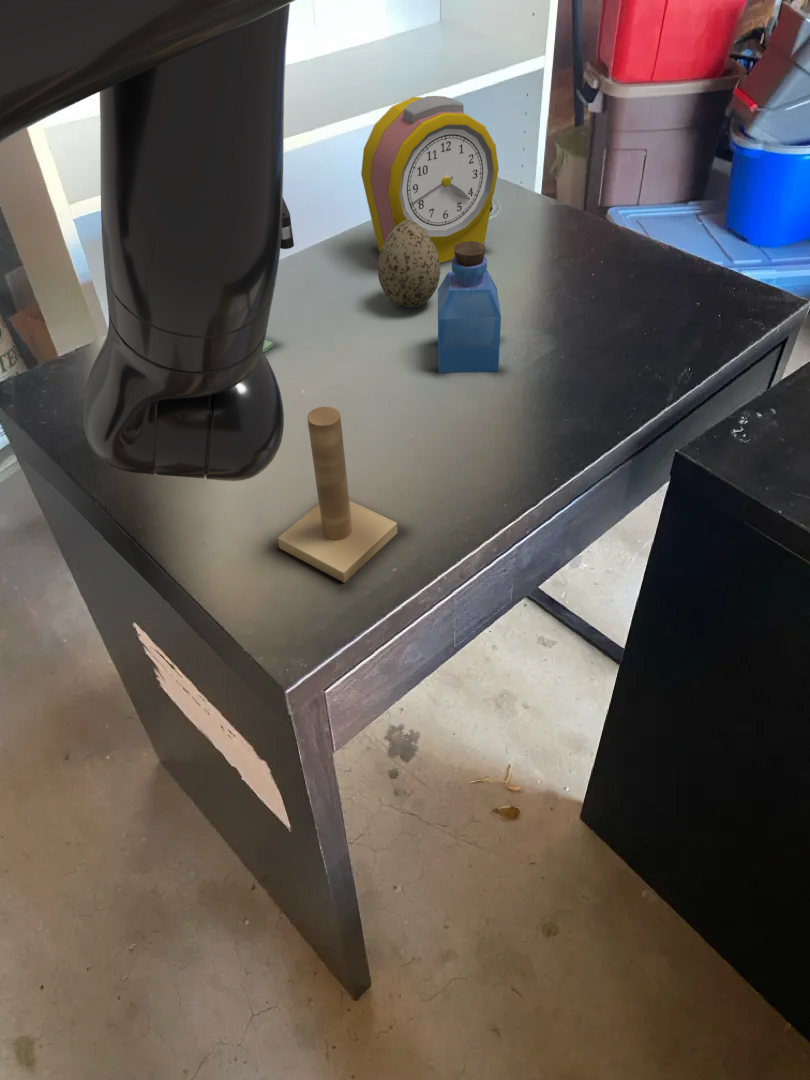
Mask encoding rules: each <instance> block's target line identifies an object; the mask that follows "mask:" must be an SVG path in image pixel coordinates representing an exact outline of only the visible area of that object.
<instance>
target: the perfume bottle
mask: <svg viewBox="0 0 810 1080" xmlns="http://www.w3.org/2000/svg"><path fill="white" fill-rule="evenodd" d="M486 249H487V246H486V245H485V243H484V244H482V243H479V242H474V241H466V242H461V243H458V244H456V245H455V246H454V253H455V256H454V257H453V259H452V260H451V271H448V272H447V273H446V275H445V277H444V278H443V280H442V282H441V283H440V285H439V287H437V288H438V289H437V351H438V352H437V353H438V357H437V358H438V373H439V374H443V373H485V372H486V373H487V372H489V373H491V372H493V373H495V372H499V367H500V366H499V364H500V347H501V346H500V345H501V326H502V314H501V306H500V300H499V294H498V288H497V286H496V283H495V282H494V280H493V278H492V276H491V274H490V272H489V271H488V269H487V268H488V259H487V257H486V256H485V254H486Z"/></svg>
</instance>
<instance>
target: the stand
mask: <svg viewBox="0 0 810 1080" xmlns="http://www.w3.org/2000/svg"><path fill="white" fill-rule="evenodd" d="M341 417H342V416H341V412H340V411H339V410H338V409H337V408H336V407H332V406H319V407H315V408H313V409H311V410H310V411H309V412H308V414H307V417H306V419H307V427H308V435H309V440H310V449H311V455H312V462H313V470H314V477H315V483H316V485H315V486H316V492H317V498H318V503H317V505H315V506H314V507H313V508H311V509H310V510H309V511H308V512H306V514H304V515H303V516H302V517H301V518H299V519H298V520H297V521H296V522H294V524H292V525H291V526H290V527H288V529H286V530H285V531H284V532H283V533H281V534H280V535H279V536H277V542H278V548H279V549H280V550H282V551H283V552H285V553H288V554H290V555H292V556H293V557H294V558H297V559H298V560H301V561H302V562H305V564H308V565H310V566H311V567H314V568H315V569H318V570H319V571H321V572H323V573H324V574H327V575H328V576H330V577H332V578H334V579H336V580H337V581H341V582H342V583H344V584H346V582H348V581H349V580H350V579H351V577H353V576H354V575H355V574H356V573H357V572H358V571H360V569H361V568H362V567H363V566H364V565H366V563H368V562H369V561H370V560H371V559H372V558H373V557H374V556H375V555H376V554H377V553H378V552H379V551H380V550H382V549H383V547H385V545H387V544H388V543H389V542H390V541H391V540H393V538H394V537H396V536H397V534H398V523H397V522H396V521H394V520H392V519H390V518H388V517H386V516H383V515H381V514H379V513H377V512H375V511H373V510H370V509H369V508H368V507H367V508H366V507H365V506H362V505H360V504H358V503H357V502H354V501H352V500H350V495H349V493H350V492H349V486H348V485H349V484H348V474H347V465H346V456H345V446H344V436H343V428H342V418H341Z"/></svg>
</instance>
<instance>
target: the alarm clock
mask: <svg viewBox="0 0 810 1080" xmlns="http://www.w3.org/2000/svg"><path fill="white" fill-rule="evenodd" d="M464 107H465V106H464V103H463V102H461V101H459V100H457V99H455V98H452V97H448V96H443V95H426V96H424V97H422V96H412V97H410V98H408V99H405V100H403V101H401V102H399V103H397V104H394V105H392V106H391V107H390V108H389V109H388V110H387V111H386V112H385V113H384V114H383V115H382V116H381V117H380V118H379V120H378V121H377V122H376V123H374V125H373V127H372V130H371V132H370V134H369V136H368V138H367V141H366V143H365V145H364V147H363V153H362V160H361V162H362V163H361V173H360V174H361V179H362V183H363V189H364V193H365V195H366V196H365V197H366V202H367V206H368V211H369V214H370V218H371V224H372V228H373V231H374V236H375V240H376V245H377V250H378V251H379V252H381V249H382V246H383V244H384V242H385V240H386V239H387V237H388V236H389V234H390V233H391V231H392V230H393V229H394V228H395V227H396V226H397V225H398V224H399V223H401V222H402V221H405V220H411V221H414V222H416V223H417V224H418V225H419V226H420V227H421V228H422V229H423V230H424V231H425V232H426V233H427V234H428V235H429V237H430V238H431V240H432V242H433V244H434V246H435V248H436V251H437V253H438V257H439V262H440V264H442V263H446V262H448V261H452V259H453V257H454V256H455V253H454V246H455V245H456V244H458V243H461V242H466V241H474V242H479V243H482V244H484V245H485V242H486V237H487V231H488V225H489V219H490V214H491V208H492V203H493V197H494V195H495V189H496V184H497V180H498V175H499V170H500V167H499V160H498V154H497V146H496V145H497V144H496V143H495V142H494V140H493V138H492V136H491V134H490V133H489V131H488V129H487V127H486V126H485V125H484V124H482V123H481V122H479V121H478V120H476V119H475V118H473V117H472V116H470V115H468V114H467V113H465V111H464Z"/></svg>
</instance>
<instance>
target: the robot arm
mask: <svg viewBox="0 0 810 1080" xmlns="http://www.w3.org/2000/svg"><path fill="white" fill-rule="evenodd" d="M295 1H296V0H0V144H2V143H4V142H5V141H7V140H8V139H10V138H12V137H14V136H16V134H18V133H21V132H22V131H24V130H26V129H27V128H29V127H31V126H33V125H35V124H37V123H39V122H41V121H42V120H44V119H46V118H48V117H50V116H52V115H54V114H56V113H58V112H60V111H63V110H65V109H67V108H68V107H70V106H73V105H75V104H77V103H79V102H81V101H83V100H85V99H87V98H89V97H91V96H93V95H96V94H99V122H100V123H99V124H100V127H99V128H100V129H99V131H100V132H99V133H100V139H99V140H100V142H99V143H100V145H99V146H100V148H99V149H100V155H99V156H100V157H99V158H100V221H101V241H102V242H101V243H102V244H101V245H102V257H103V268H104V279H105V288H106V289H105V290H106V300H107V313H108V327H107V333H106V336H105V339H104V341H103V343H102V346H101V347H100V350H99V352H98V354H97V356H96V357H95V360H94V362H93V365H92V367H91V370H90V372H89V376H88V379H87V382H86V386H85V390H84V394H83V400H82V411H81V415H82V416H81V417H82V426H83V427H82V428H83V432H84V435H85V438H86V441H87V443H88V444H89V447H90V448H91V449H92V451H93V452H94V453H95V454H96V456H98V457H99V458H100V459H101V460H102V461H103V462H105V464H107V465H109V466H111V467H112V468H115V469H118V470H120V471H122V472H127V473H134V474H143V475H152V476H153V475H157V476H166V477H179V478H189V479H191V478H192V479H202V480H203V479H207V480H213V481H222V482H223V481H225V482H238V481H239V482H240V481H246V480H249V479H251V478H254V477H256V476H258V475H259V474H261V473H262V472H263V471H265V469H266V468H267V467H268V466H269V465H270V464H271V463H272V462H273V461H274V459H275V457H276V455H277V453H278V451H279V449H280V446H281V444H282V440H283V435H284V426H285V414H284V405H283V404H284V403H283V399H282V394H281V389H280V386H279V384H278V379H277V376H276V374H275V372H274V370H273V368H272V366H271V364H270V362H269V360H268V358H267V356H266V355H265V352H264V353H263V352H262V350H263V346H264V342H265V340H266V337H267V332H268V326H269V320H270V315H271V308H272V303H273V298H274V294H275V293H274V292H275V287H276V283H277V282H276V281H277V277H278V272H279V265H280V263H279V262H280V256H281V250H289V249H292V248H294V246H295V242H294V234H293V233H294V232H293V226H292V220H291V219H292V217H291V213H290V210H289V208H288V206H287V204H286V201H285V199H284V196H283V195H284V151H285V149H284V148H285V147H284V144H285V143H284V140H285V139H284V133H285V85H286V81H285V80H286V63H287V62H286V59H287V42H288V30H289V19H290V10H291V9H290V8H291V3H293V2H295Z"/></svg>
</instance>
